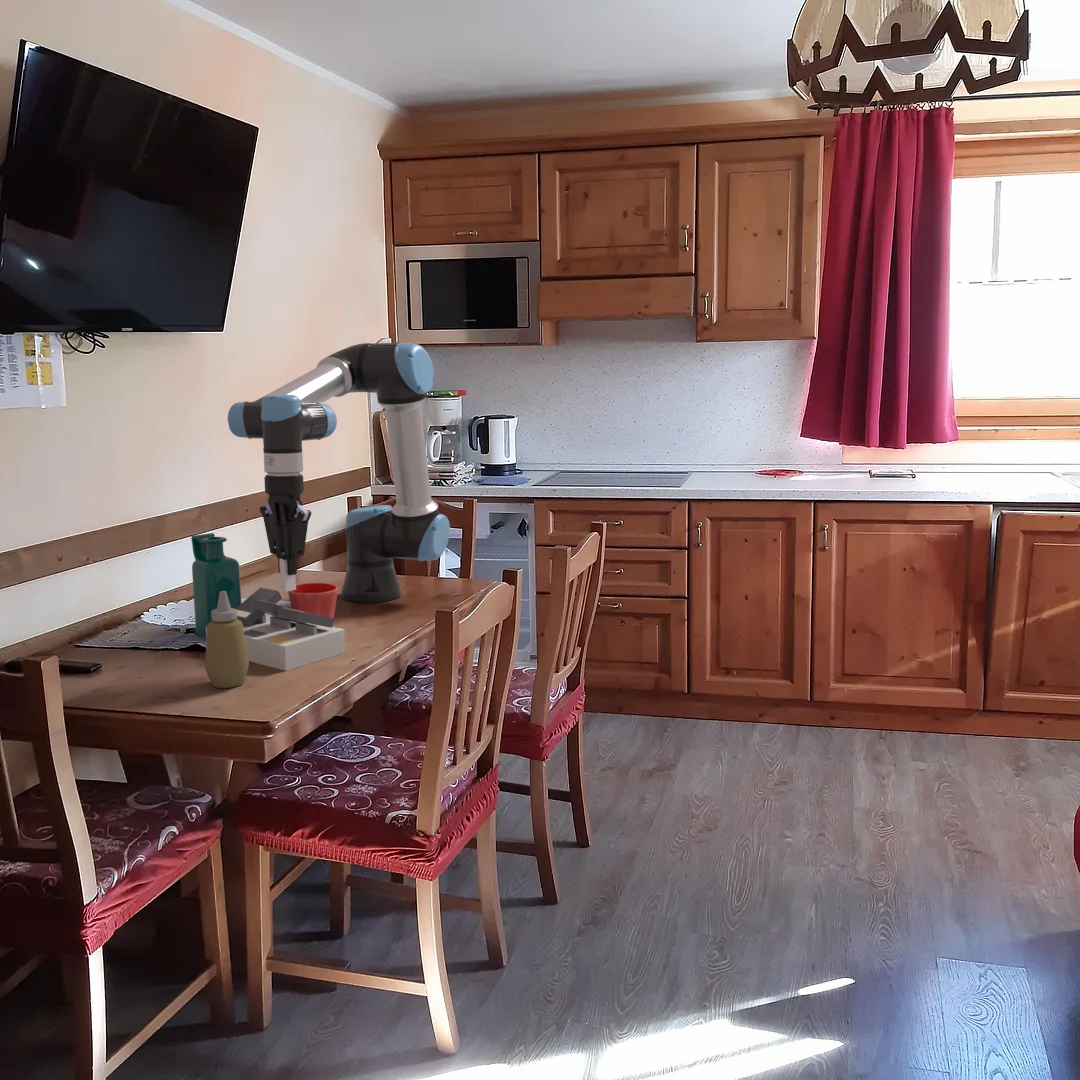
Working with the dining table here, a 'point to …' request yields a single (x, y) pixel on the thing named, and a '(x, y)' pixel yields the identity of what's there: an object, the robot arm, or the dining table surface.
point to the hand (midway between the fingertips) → (288, 590)
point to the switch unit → (291, 642)
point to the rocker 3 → (305, 617)
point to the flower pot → (314, 598)
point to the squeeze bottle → (225, 646)
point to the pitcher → (212, 578)
